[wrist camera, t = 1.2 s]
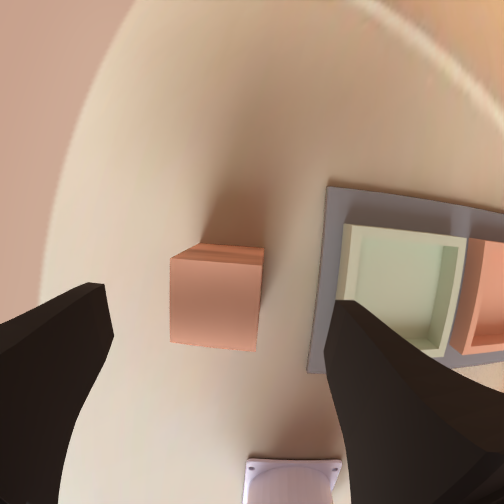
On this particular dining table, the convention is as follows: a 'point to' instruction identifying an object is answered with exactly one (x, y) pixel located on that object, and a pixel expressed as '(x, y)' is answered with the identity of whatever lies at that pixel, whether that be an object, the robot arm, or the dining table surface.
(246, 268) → the terracotta block
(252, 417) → the dining table surface
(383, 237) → the sorting board
